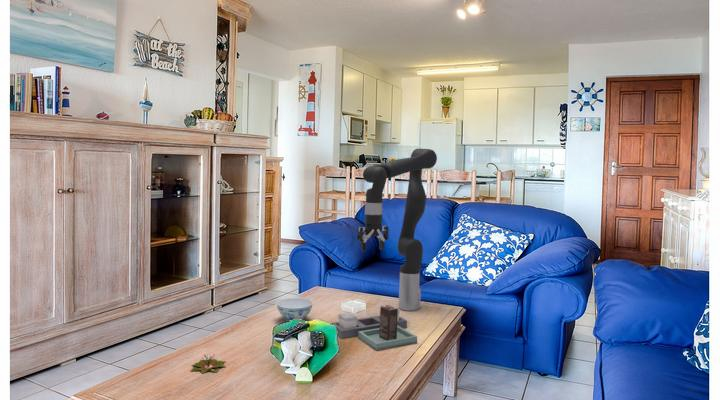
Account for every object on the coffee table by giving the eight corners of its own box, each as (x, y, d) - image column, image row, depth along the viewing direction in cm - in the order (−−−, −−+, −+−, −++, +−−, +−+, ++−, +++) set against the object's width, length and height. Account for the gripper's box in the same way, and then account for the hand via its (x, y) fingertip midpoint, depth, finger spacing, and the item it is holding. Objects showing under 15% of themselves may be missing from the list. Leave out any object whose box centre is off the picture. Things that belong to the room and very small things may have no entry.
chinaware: (319, 321, 205) (319, 303, 204) (291, 329, 194) (292, 310, 193) (296, 312, 215) (297, 295, 214) (269, 320, 204) (269, 302, 203)
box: (397, 339, 184) (398, 308, 183) (388, 341, 181) (389, 310, 180) (387, 334, 189) (388, 304, 188) (378, 336, 186) (379, 306, 185)
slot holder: (393, 320, 208) (393, 313, 208) (406, 327, 199) (407, 320, 199) (330, 330, 194) (330, 322, 194) (341, 338, 185) (341, 331, 185)
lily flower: (197, 359, 163) (197, 346, 163) (232, 361, 163) (232, 348, 162) (182, 375, 152) (182, 360, 151) (220, 377, 151) (220, 362, 151)
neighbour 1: (349, 329, 196) (349, 312, 195) (356, 334, 190) (357, 316, 190) (338, 331, 193) (338, 314, 193) (345, 336, 188) (345, 318, 187)
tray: (396, 331, 195) (397, 325, 195) (417, 342, 183) (417, 336, 182) (357, 337, 186) (358, 331, 186) (376, 350, 174) (376, 344, 174)
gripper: (383, 211, 213) (382, 248, 214) (354, 212, 206) (353, 250, 207) (392, 213, 206) (391, 250, 207) (363, 214, 199) (362, 253, 201)
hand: (372, 250), depth 207 cm, fingers open, 8 cm apart
